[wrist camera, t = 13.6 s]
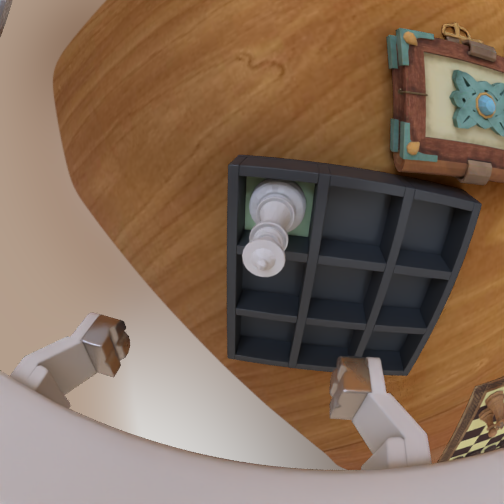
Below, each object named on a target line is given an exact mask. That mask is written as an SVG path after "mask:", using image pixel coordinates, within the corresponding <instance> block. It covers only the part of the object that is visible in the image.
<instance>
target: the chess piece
mask: <svg viewBox="0 0 504 504" xmlns="http://www.w3.org/2000/svg"><path fill="white" fill-rule="evenodd" d="M249 210H250V214H251V217H252V219H253V221H254V222H255V223H256V225H255V226H254V227H253V228H252V230H251V232H250V236H249V240H250V242H249V243H248V244H247V245H246V246H245V248H244V250H243V254H242V258H243V263H244V265H245V267H246V268H247V269H248V270H249V271H250V272H251V273H252V274H254V275H256V276H260V277H270V276H274V275H276V274H277V273H279V272H280V271H281V270H282V268H283V267H284V264H285V260H286V259H285V252H284V251H285V249H286V248H287V245H288V233H287V232H290V231H292V230H294V229H295V228H296V227H297V226H299V225H300V223H301V222H302V220H303V218H304V214H305V210H306V198H305V195H304V192H303V190H302V189H301V187H300V186H299V185H298V184H297V183H296V182H295V181H290V180H280V179H270V178H266V179H265V180H263V181H262V182H260V183H259V184H258V185H257V186H256V187H255V189H254V191H253V193H252V195H251V198H250V203H249Z"/></svg>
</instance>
